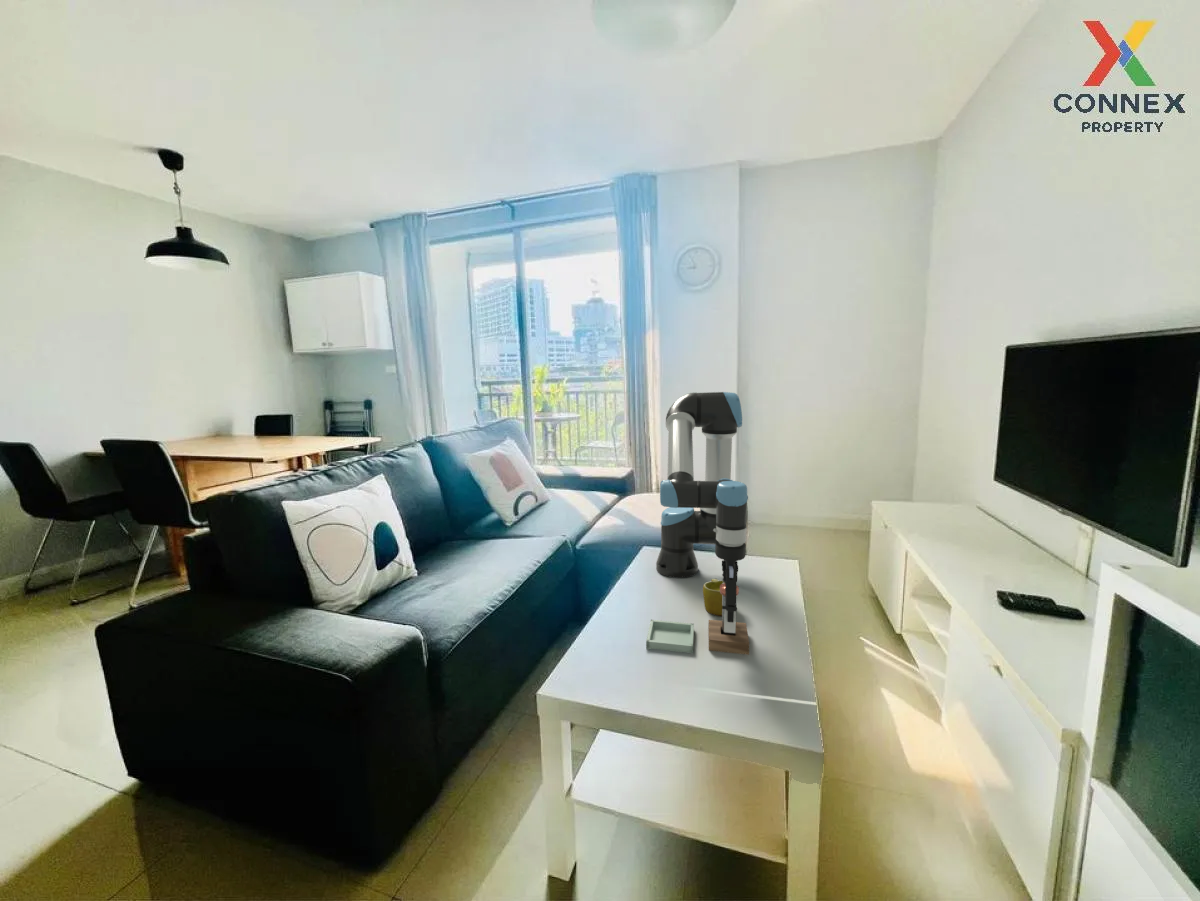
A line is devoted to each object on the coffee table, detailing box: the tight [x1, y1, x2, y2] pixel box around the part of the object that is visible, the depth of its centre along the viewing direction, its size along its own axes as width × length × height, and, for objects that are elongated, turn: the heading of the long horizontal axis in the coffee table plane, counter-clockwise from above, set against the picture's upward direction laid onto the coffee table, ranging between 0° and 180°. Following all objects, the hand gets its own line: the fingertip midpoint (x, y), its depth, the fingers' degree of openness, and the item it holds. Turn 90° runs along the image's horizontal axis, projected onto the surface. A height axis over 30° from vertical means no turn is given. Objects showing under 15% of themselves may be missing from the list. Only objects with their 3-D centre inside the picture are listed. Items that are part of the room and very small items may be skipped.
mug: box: [702, 578, 725, 617], centre depth 142 cm, size 12×10×10 cm
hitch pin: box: [720, 583, 740, 636], centre depth 123 cm, size 5×5×16 cm
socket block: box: [707, 619, 750, 656], centre depth 124 cm, size 10×10×4 cm
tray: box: [645, 619, 695, 654], centre depth 126 cm, size 11×12×2 cm
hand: (728, 618), depth 123 cm, fingers open, 13 cm apart
